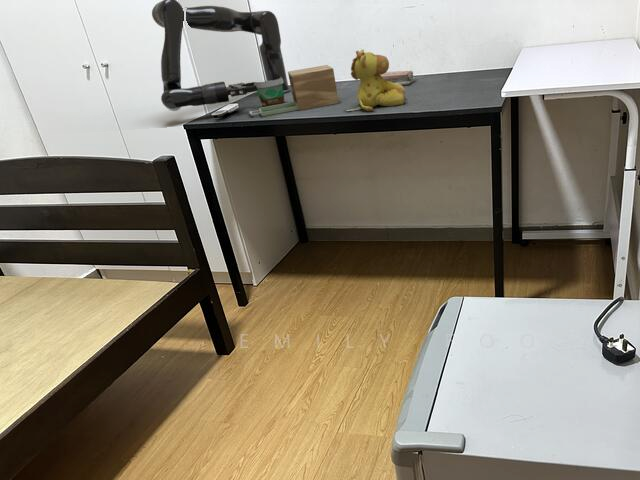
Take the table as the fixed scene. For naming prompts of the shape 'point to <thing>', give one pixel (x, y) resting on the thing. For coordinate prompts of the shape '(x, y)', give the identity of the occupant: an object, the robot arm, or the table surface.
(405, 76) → the packaged product
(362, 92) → the giraffe plush
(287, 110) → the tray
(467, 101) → the table surface
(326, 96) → the wooden block
